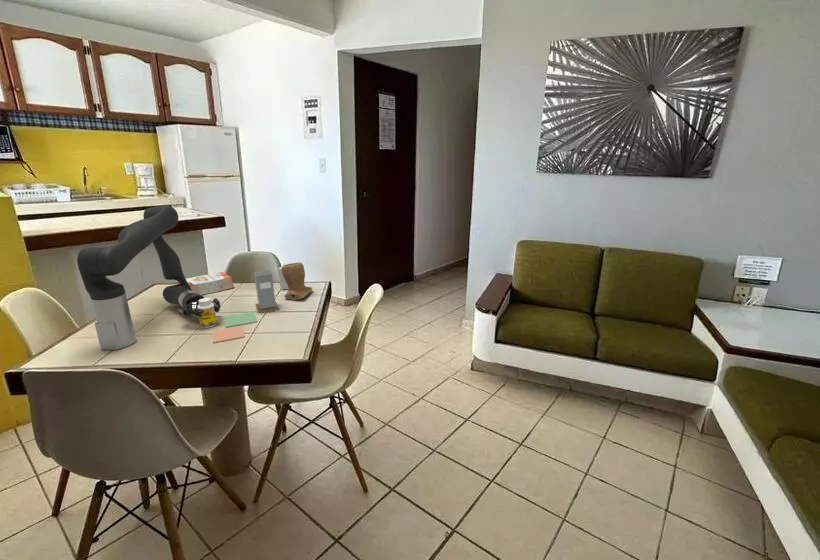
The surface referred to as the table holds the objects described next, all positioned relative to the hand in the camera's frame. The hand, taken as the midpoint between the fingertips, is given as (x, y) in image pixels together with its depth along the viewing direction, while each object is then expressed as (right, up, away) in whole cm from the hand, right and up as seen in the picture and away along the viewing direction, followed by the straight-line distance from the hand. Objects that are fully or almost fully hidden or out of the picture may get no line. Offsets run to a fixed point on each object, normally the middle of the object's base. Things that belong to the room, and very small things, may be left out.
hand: (209, 312), depth 146 cm
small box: (+15, +8, +47) cm, 49 cm away
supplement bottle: (-2, -6, +3) cm, 7 cm away
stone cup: (+22, +4, +35) cm, 41 cm away
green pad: (+8, -4, +8) cm, 12 cm away
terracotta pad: (+9, -8, -5) cm, 13 cm away
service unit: (+14, 0, +20) cm, 24 cm away
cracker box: (-16, +12, +50) cm, 54 cm away
